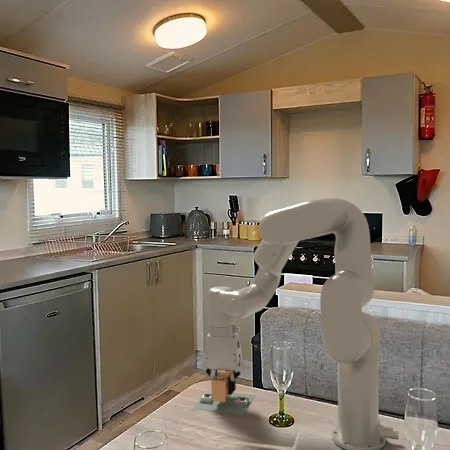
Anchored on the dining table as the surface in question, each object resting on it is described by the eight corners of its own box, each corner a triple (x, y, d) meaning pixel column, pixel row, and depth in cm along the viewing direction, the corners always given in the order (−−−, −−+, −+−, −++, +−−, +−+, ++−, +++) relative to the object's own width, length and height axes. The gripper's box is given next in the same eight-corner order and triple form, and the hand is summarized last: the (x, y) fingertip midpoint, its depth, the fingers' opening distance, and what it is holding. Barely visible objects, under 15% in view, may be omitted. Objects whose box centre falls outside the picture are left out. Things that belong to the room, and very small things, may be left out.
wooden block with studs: (235, 388, 148) (235, 366, 147) (225, 402, 138) (224, 379, 138) (222, 386, 149) (222, 365, 149) (211, 400, 140) (211, 377, 139)
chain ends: (249, 401, 143) (249, 396, 143) (246, 406, 140) (246, 402, 140) (204, 397, 148) (203, 392, 147) (199, 401, 144) (199, 397, 144)
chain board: (255, 397, 148) (255, 395, 148) (243, 417, 135) (243, 414, 135) (207, 393, 152) (207, 390, 152) (192, 411, 140) (192, 408, 140)
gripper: (253, 328, 143) (255, 389, 145) (199, 324, 148) (201, 384, 150) (246, 335, 136) (248, 400, 137) (190, 332, 141) (192, 394, 143)
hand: (224, 391), depth 144 cm, fingers closed on wooden block with studs, 4 cm apart
